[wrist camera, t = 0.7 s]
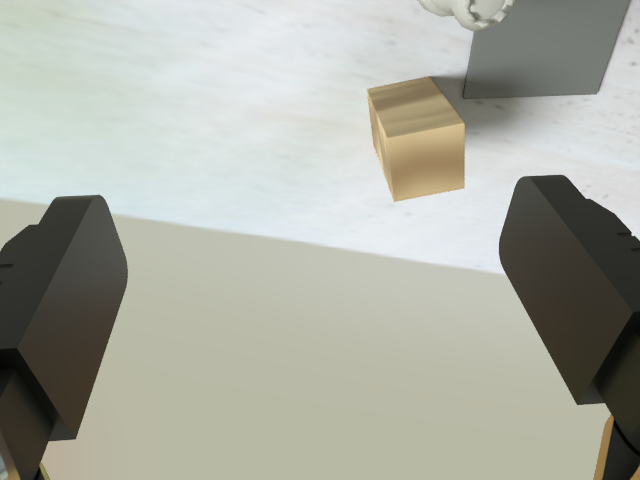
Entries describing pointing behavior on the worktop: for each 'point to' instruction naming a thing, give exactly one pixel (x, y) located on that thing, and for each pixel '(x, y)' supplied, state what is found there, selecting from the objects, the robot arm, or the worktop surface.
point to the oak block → (417, 138)
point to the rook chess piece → (471, 11)
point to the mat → (544, 49)
